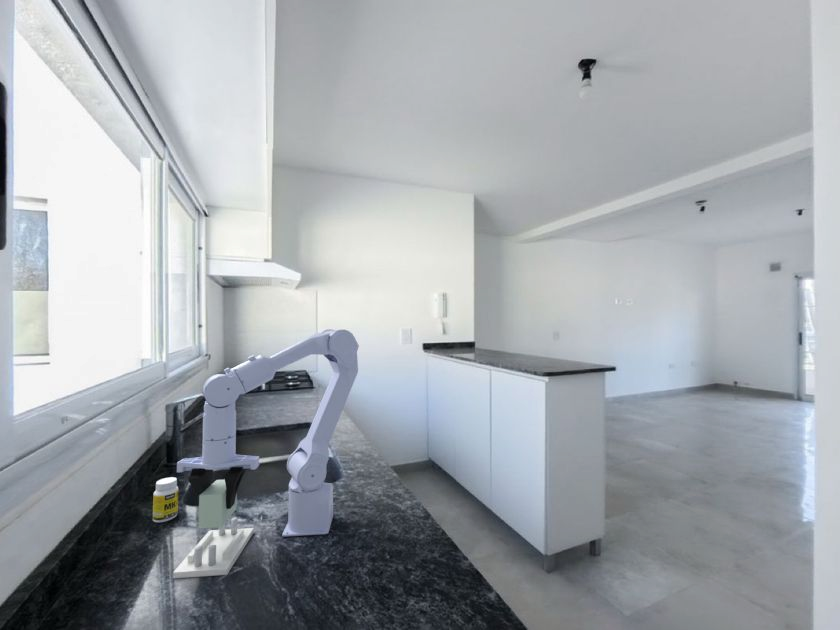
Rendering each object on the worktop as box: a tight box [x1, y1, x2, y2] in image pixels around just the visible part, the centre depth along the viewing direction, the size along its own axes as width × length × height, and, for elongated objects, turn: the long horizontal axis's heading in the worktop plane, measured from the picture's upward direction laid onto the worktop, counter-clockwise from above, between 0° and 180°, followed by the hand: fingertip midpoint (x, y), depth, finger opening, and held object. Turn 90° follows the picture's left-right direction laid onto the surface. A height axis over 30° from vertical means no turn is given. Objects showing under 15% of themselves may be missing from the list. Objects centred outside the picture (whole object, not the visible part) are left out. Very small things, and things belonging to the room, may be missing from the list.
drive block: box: [197, 479, 238, 529], centre depth 70 cm, size 4×7×6 cm, turn 6°
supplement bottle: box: [152, 476, 179, 523], centre depth 82 cm, size 5×5×8 cm
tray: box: [172, 516, 255, 579], centre depth 69 cm, size 9×13×4 cm
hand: (218, 506), depth 69 cm, fingers closed on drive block, 4 cm apart
